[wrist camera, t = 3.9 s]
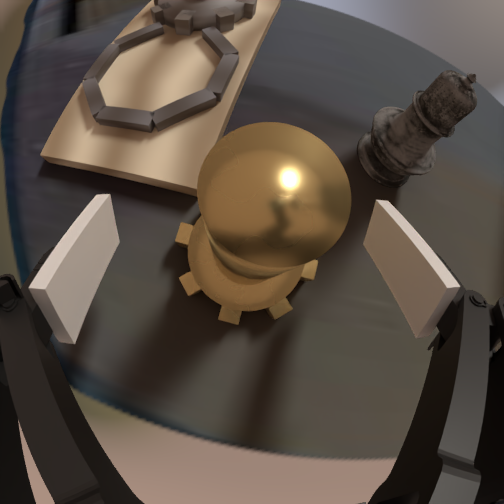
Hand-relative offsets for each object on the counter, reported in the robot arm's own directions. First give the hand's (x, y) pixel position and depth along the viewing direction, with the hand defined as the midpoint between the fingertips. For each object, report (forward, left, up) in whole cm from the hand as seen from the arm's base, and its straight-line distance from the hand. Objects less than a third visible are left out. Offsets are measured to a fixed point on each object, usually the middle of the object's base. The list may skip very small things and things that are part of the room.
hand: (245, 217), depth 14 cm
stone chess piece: (-10, -10, -6) cm, 15 cm away
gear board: (+10, -15, -6) cm, 19 cm away
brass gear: (-1, +1, -6) cm, 6 cm away
